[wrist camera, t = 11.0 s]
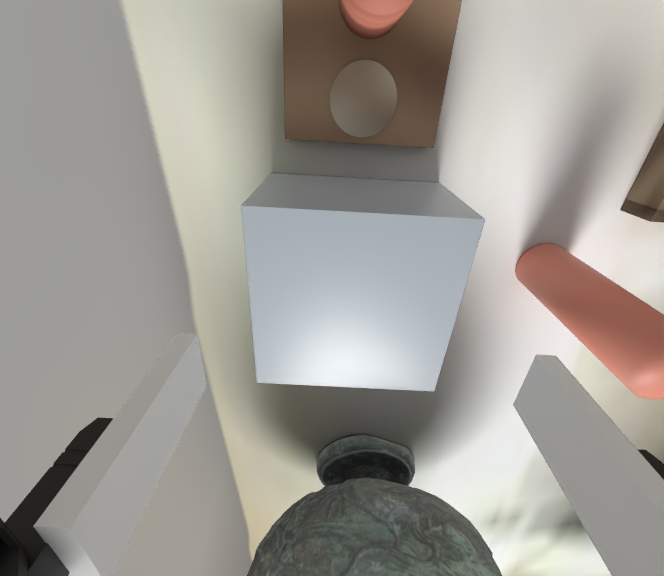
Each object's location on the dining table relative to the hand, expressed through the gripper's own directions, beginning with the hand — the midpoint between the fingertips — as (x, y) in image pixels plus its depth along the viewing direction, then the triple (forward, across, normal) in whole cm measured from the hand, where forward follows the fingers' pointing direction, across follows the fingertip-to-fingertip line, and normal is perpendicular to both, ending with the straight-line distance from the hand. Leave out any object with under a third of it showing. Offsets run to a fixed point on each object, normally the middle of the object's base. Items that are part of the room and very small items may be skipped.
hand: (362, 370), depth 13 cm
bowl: (+11, -3, +22) cm, 25 cm away
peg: (+11, -12, 0) cm, 16 cm away
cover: (+10, 0, -1) cm, 10 cm away
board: (+10, 0, -12) cm, 15 cm away
